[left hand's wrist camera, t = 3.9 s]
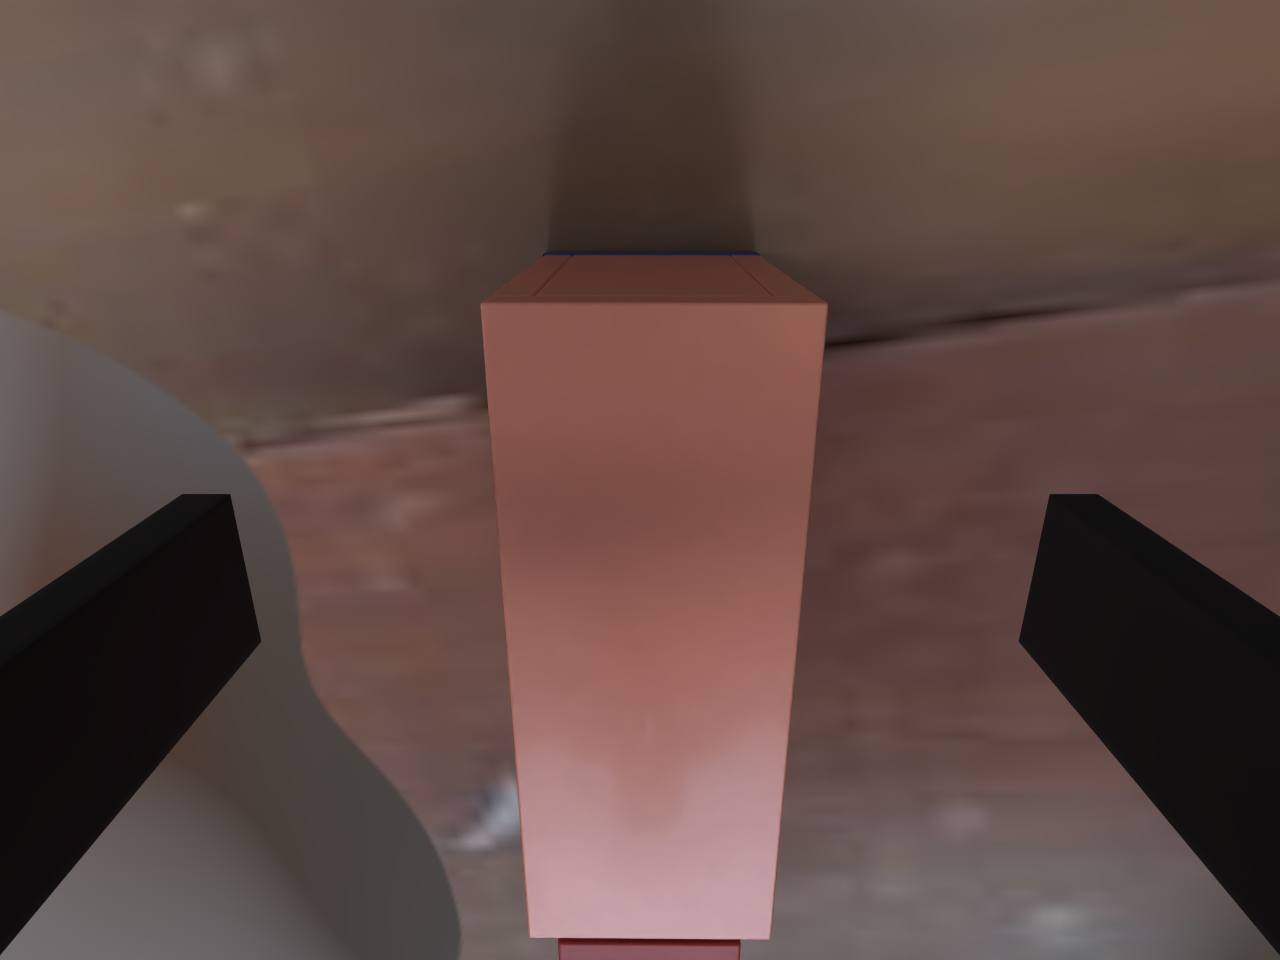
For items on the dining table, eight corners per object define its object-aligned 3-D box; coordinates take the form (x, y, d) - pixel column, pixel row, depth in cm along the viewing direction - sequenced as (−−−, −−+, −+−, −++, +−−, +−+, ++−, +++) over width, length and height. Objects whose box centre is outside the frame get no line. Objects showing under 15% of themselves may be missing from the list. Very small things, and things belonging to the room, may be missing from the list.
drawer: (710, 869, 31) (730, 1090, 23) (585, 869, 31) (566, 1089, 23) (733, 381, 23) (774, 477, 16) (567, 381, 23) (530, 477, 16)
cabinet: (731, 697, 29) (771, 940, 20) (566, 697, 29) (528, 939, 20) (755, 251, 23) (829, 302, 14) (546, 252, 23) (478, 301, 14)
